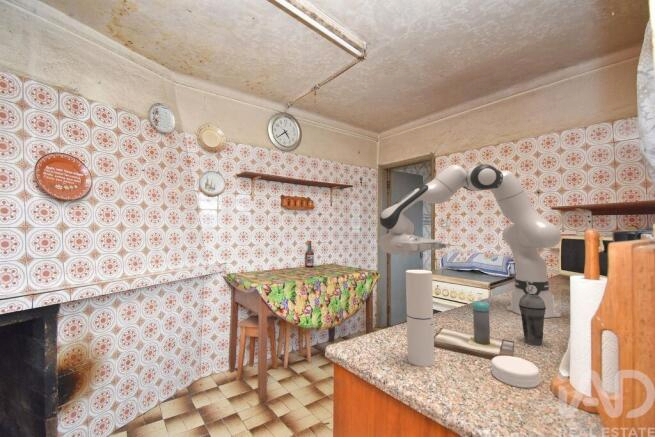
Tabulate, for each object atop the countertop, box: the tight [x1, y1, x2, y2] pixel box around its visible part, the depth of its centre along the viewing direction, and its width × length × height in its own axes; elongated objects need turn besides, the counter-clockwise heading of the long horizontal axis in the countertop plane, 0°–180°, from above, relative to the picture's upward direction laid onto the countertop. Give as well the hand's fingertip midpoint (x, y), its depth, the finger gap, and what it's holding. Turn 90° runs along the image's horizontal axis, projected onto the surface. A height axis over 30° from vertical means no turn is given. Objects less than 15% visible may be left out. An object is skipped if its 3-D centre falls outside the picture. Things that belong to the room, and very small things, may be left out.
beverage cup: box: [519, 280, 546, 346], centre depth 92 cm, size 7×7×20 cm
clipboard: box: [434, 327, 515, 361], centre depth 90 cm, size 15×22×2 cm
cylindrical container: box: [405, 269, 435, 368], centre depth 81 cm, size 7×7×25 cm
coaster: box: [490, 356, 540, 389], centre depth 71 cm, size 10×10×4 cm
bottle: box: [472, 300, 491, 345], centre depth 89 cm, size 5×5×12 cm
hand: (438, 246), depth 111 cm, fingers open, 8 cm apart
